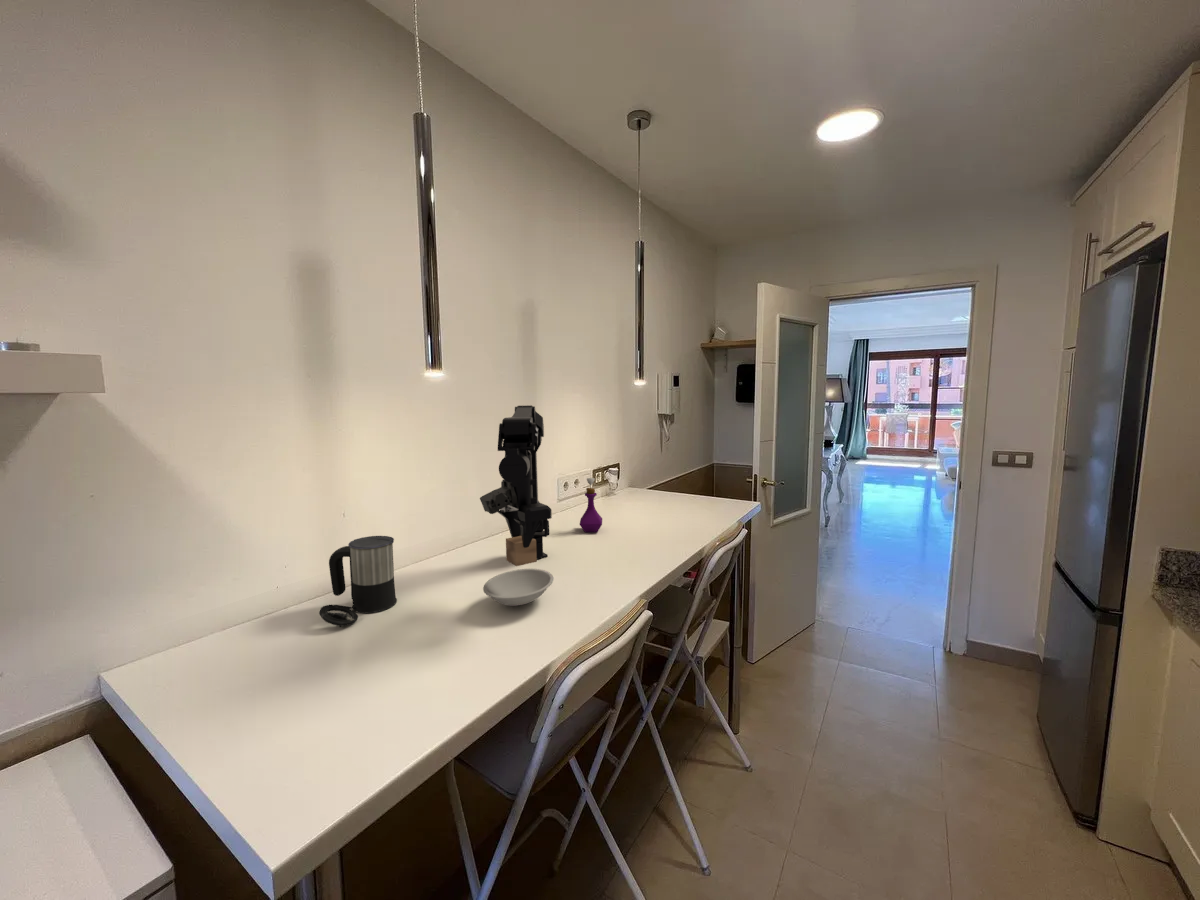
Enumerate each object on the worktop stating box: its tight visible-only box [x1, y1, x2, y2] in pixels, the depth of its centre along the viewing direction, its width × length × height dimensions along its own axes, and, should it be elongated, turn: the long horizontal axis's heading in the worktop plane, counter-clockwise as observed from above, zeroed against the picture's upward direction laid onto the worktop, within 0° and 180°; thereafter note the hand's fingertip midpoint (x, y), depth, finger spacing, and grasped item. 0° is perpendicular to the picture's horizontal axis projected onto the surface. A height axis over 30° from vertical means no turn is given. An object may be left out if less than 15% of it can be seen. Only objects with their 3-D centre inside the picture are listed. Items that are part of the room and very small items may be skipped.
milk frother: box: [318, 535, 398, 628], centre depth 108 cm, size 14×16×15 cm
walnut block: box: [505, 536, 538, 567], centre depth 112 cm, size 5×5×5 cm
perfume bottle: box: [579, 477, 603, 533], centre depth 169 cm, size 8×8×18 cm
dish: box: [482, 568, 554, 607], centre depth 113 cm, size 18×14×5 cm
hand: (520, 544), depth 112 cm, fingers closed on walnut block, 5 cm apart
